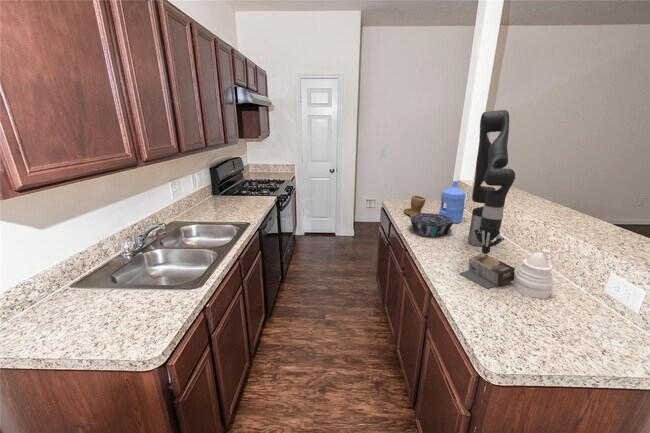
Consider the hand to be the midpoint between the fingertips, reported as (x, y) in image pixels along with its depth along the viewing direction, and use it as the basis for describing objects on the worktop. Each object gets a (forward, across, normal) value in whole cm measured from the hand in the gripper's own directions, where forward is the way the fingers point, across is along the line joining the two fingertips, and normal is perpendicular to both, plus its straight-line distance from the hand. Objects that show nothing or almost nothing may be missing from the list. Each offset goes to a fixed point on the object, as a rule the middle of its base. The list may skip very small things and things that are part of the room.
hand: (485, 253), depth 124 cm
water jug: (+12, +62, -50) cm, 81 cm away
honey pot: (+12, -16, -9) cm, 22 cm away
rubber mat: (+12, -1, 0) cm, 12 cm away
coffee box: (+8, +6, -4) cm, 11 cm away
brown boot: (+12, +83, -36) cm, 92 cm away
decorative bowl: (+12, +53, -22) cm, 58 cm away
